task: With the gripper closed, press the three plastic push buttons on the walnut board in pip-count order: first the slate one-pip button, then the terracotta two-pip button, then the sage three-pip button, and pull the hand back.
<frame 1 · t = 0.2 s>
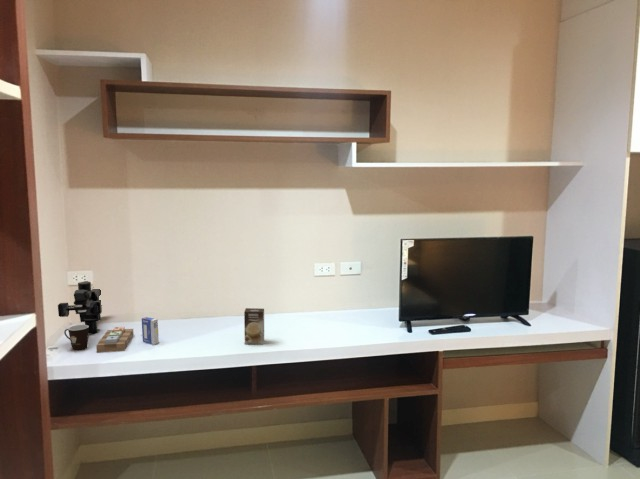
hand: (75, 314, 235), 17 cm above the table, tool horizontal, fingers open, 9 cm apart
one-pip button: (112, 340, 238), point 4 cm above the table, slide at 0.0 cm
coffee mug: (78, 348, 240), on the table
three-pip button: (115, 335, 244), point 4 cm above the table, slide at 0.0 cm
walkman: (150, 342, 247), on the table
coffee box: (254, 342, 246), on the table
button board: (116, 343, 245), on the table
two-pip button: (118, 331, 251), point 4 cm above the table, slide at 0.0 cm
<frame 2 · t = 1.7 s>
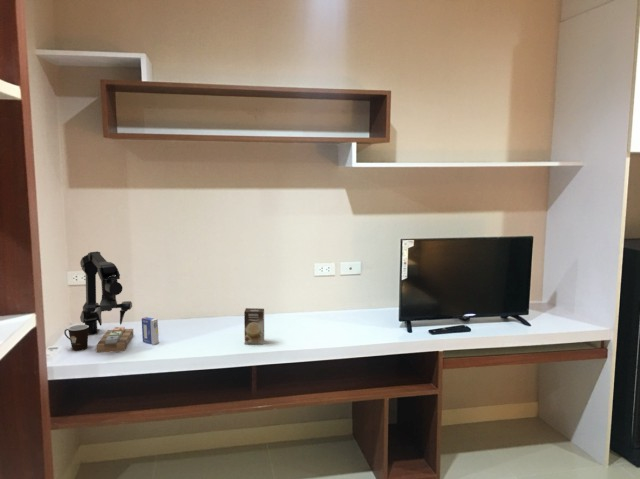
hand: (110, 324, 236), 11 cm above the table, tool pointing down, fingers open, 8 cm apart
nothing on the table moved.
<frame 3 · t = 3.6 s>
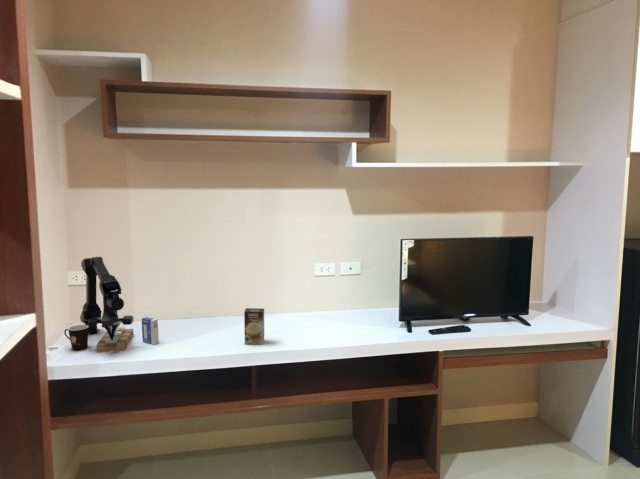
hand: (112, 338, 237), 5 cm above the table, tool pointing down, fingers closed, pressing on one-pip button
one-pip button: (112, 342, 238), point 3 cm above the table, slide at 0.8 cm, touching gripper
everything else where it was.
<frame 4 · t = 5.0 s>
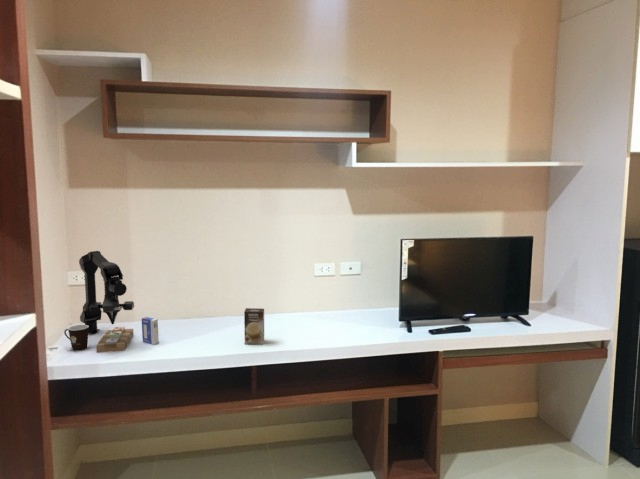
hand: (112, 324, 241), 10 cm above the table, tool pointing down, fingers closed
one-pip button: (112, 342, 238), point 3 cm above the table, slide at 1.0 cm
everything else where it was.
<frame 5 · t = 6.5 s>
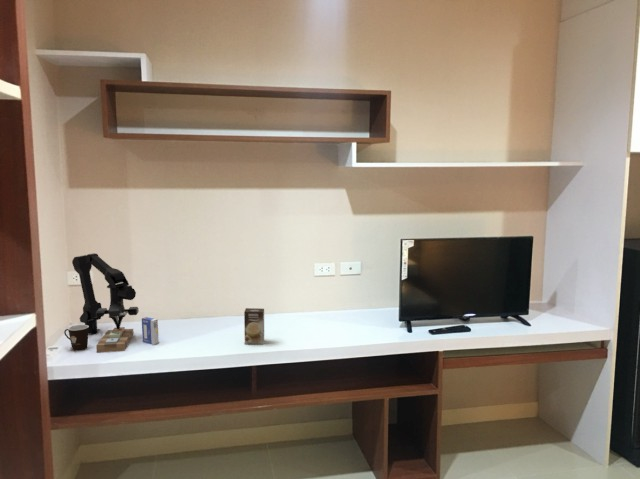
hand: (118, 328, 251), 5 cm above the table, tool pointing down, fingers closed, pressing on two-pip button
two-pip button: (118, 331, 251), point 4 cm above the table, slide at 0.1 cm, touching gripper
everything else where it was.
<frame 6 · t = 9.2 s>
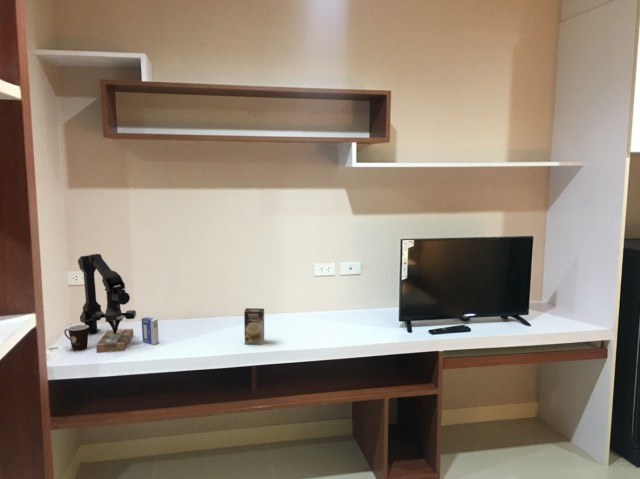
hand: (115, 333, 244), 5 cm above the table, tool pointing down, fingers closed, pressing on three-pip button
three-pip button: (115, 336, 244), point 4 cm above the table, slide at 0.2 cm, touching gripper
two-pip button: (118, 333, 251), point 3 cm above the table, slide at 0.9 cm
everything else where it was.
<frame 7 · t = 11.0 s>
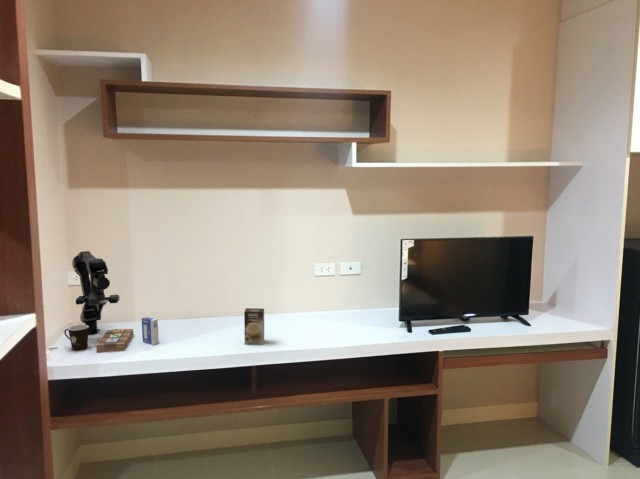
hand: (98, 316, 249), 12 cm above the table, tool pointing down, fingers closed
three-pip button: (115, 338, 245), point 3 cm above the table, slide at 1.1 cm
everything else where it was.
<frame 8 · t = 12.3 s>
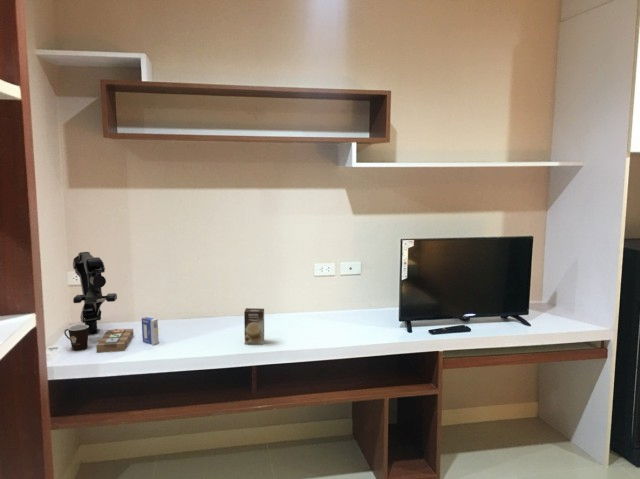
hand: (96, 315, 249), 12 cm above the table, tool pointing down, fingers closed
nothing on the table moved.
at the end: one-pip button slide at 1.0 cm; two-pip button slide at 0.9 cm; three-pip button slide at 1.1 cm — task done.
